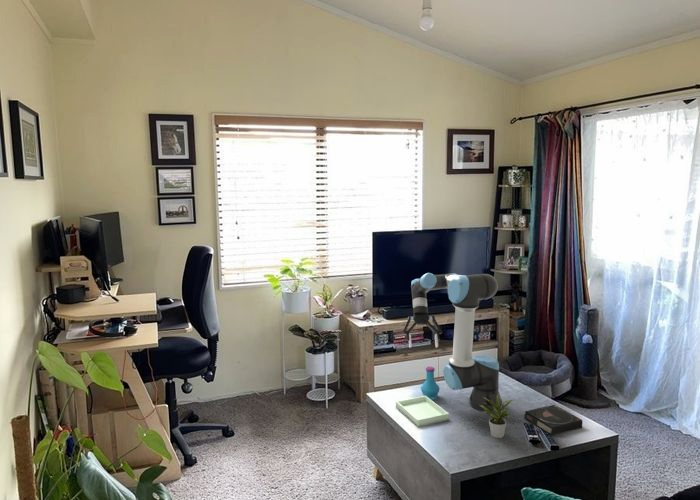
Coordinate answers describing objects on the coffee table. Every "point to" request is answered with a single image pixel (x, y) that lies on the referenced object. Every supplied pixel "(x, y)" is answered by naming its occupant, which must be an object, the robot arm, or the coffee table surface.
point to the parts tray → (422, 411)
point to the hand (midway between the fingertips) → (423, 347)
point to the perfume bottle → (430, 385)
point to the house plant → (497, 418)
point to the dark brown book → (553, 419)
